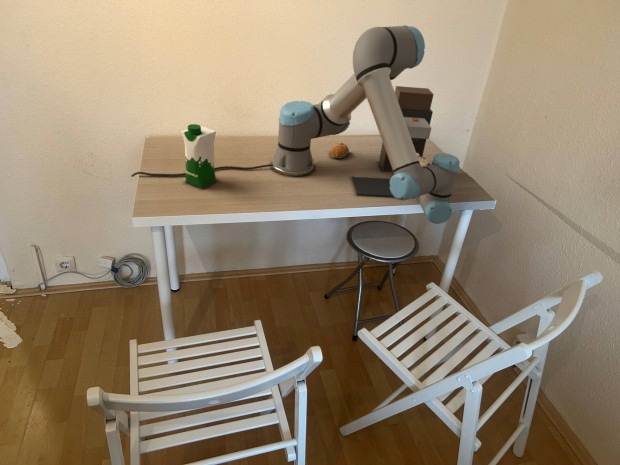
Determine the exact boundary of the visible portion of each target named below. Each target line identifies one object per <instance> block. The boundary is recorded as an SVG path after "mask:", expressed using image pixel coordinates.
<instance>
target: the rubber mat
mask: <svg viewBox="0 0 620 465" xmlns="http://www.w3.org/2000/svg"><path fill="white" fill-rule="evenodd" d="M352 181H353V182H352V183H353V184H354V189H355V192H356V196H364V197H381V198H382V197H384V198H395V197H394V196H393V195H392V193H391V191H390V180H389V178H380V177H366V176H365V177H363V176H352Z"/></svg>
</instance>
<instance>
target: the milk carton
mask: <svg viewBox="0 0 620 465" xmlns="http://www.w3.org/2000/svg"><path fill="white" fill-rule="evenodd" d="M216 134H217V131H216V130H214V129H211V128H208V127H205V126H202V125H200V124H198V123H197V124H196V123H192V124H188V125H187V128H186V129H184V130H181V135H182V139H183V142H184V158H185V173H186V175H185V183H186V184H189V185H191V186H194V187H197V188H199V189H205V188H206V187H208V186H210V185H212V184H214V183H216V182H217V181H216V180H217V178H216V170H214V168H215V140H216Z"/></svg>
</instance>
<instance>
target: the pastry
mask: <svg viewBox="0 0 620 465" xmlns="http://www.w3.org/2000/svg"><path fill="white" fill-rule="evenodd" d="M349 152H350V150H349V147H348V145H347V144H346V143H344V142H337V143H335V144H334V145H333V146H332V147H331V149H330V156H331V158H336V159H342V158H345V157H346V156H347V155H348V153H349Z"/></svg>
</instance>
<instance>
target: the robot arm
mask: <svg viewBox="0 0 620 465" xmlns="http://www.w3.org/2000/svg"><path fill="white" fill-rule="evenodd" d="M425 49H426V43H425V38H424V36H423V34H422V32H421V30H419V29H418V28H417V27H415V26H413V25H406V24H405V25H396V26H393V25H392V26H374V27H370V28H368V29H366V30H365V31H363V33H362V34H360V35H359V37H358V38H357V41H356V42H355V44H354V48H353V52H352V69H353V73H352V74H351V76H350V77H348V79H347V80H346V81H345V82H344V83H343V84H342V85H341V86H340V88H339V89H338V90H337V91H335V93H330V94H328V95H326V96H325V97H324V98H323V99H322V100H321V101H320V102H319V103H317V104H313V103H311V102H309V101H306V100H294V101H288V102H286V103H285V104H283V105H282V106H281V108H280V110H279V116H278V136H277V137H278V138H277V147H276V150H275V152H274V155H273V157H272V160H271V163H270V164H261V165H256V166H249V167H248V166H247V167H243V166H230V165H225V166H217V167H214V170H215V171H216V170H223V169H233V170H235V169H236V170H255V169H261V168H268V167H271V168H272V169H273V171H275V172H276V173H279V174H281V175H284V176H288V177H302V176H306V175H309V174H311V173H312V172H313V171H314V160H315V159H314V158H313V155H312V151H311V143H312V140H313V139H318V138H323V137H330V136H336V135H339V134H342V133H344V132H346V130H348V128H349V126H350V124H351V122H350V121H351V120H352V113H353V112H354V111H355V110H356V109H357V108H358V107H359V106H360V105H361V104H362V103H364V101H365V100H367V103H368V105H369V107H370V110H371V113H372V116H373V119H374V121H375V125H376V127H377V130H378V133H379V135H380V138H381V141H382V142H383V144H384V147H385V150H386V152H387V155H388V158H389V161H390V164H391V166H392V172H391V173H392V174H393V175H392V176H391V178H390V180H389V183H390V191H391V193H392V195H393V196H394V197H393V198H395V199H397V200H398V201H407V200H408V201H409V200H414V199H417V201H418V203H419V205H420V207H421V209H422V211H423V214H424V216H425V217H426V218H427V220H428V221H429V222H430V223H432V224H435V225H440V224H441V225H442V224H443V223H447V221H449V220H450V219H451V217H452V215H453V208H452V204H451V202H450V201H451V198H452V196H453V195H452V194H453V190H454V188H455V184H456V180H457V177H458V174H459V169H460V163H461V162H460V159H459V157H457V156H455V155H453V154H450V153H447V152H445V153H444V152H439V153H435V155H434V156H433V158H432V161H431V163H430V162H428V166H425V167H421V165H420V162H419V160H418V157H417V154H416V151H415V148H414V145H413V143H412V140H411V137H410V134H409V131H408V128H407V126H406V123H405V120H404V117H403V114H402V111H401V109H400V106H399V103H398V100H397V97H396V94H395V88H394V86H393V83H392V81H393V80H395V79H396V78H398V76H400V75H401V74H402V73H403V72H405V71H406V70H407V69H413V68H416V67H418V66H419V65H421V63H422V61H423V60H424V56H425ZM422 158H424V159H426V158H425V157H424V156H422ZM136 175H145V176H152V177H181V176H182V177H183V176H186V172H184V173H150V172H145V171H137V172H134V173H133V174H131V175H130V177H133V178H134V177H135V176H136Z"/></svg>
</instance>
